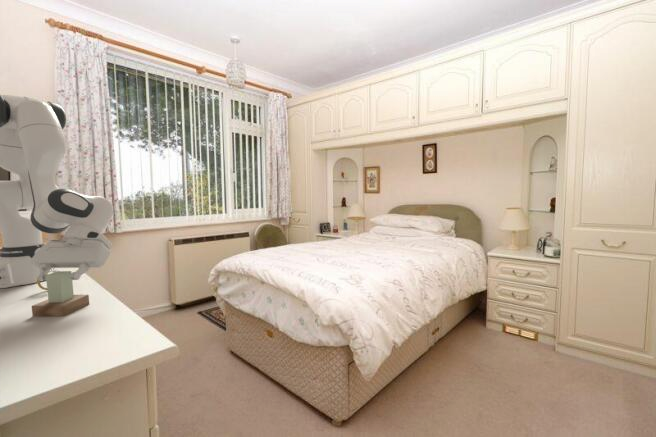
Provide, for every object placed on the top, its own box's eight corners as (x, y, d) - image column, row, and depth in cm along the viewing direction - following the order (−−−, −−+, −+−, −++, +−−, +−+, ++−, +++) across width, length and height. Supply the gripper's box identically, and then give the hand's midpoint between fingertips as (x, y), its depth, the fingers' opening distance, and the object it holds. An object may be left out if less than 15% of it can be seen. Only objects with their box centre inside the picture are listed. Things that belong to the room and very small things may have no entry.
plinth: (32, 316, 88) (31, 305, 87) (60, 304, 97) (59, 295, 96) (64, 315, 88) (63, 305, 87) (89, 304, 97) (88, 294, 96)
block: (48, 302, 90) (45, 275, 89) (60, 297, 94) (57, 271, 93) (62, 302, 90) (59, 274, 89) (73, 297, 94) (71, 271, 93)
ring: (38, 293, 107) (36, 270, 107) (37, 291, 109) (34, 269, 109) (65, 288, 113) (63, 266, 112) (62, 286, 115) (60, 265, 114)
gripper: (41, 234, 97) (13, 274, 88) (107, 233, 97) (85, 273, 88) (55, 246, 102) (29, 285, 93) (118, 245, 102) (98, 284, 93)
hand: (57, 279), depth 91 cm, fingers open, 8 cm apart
